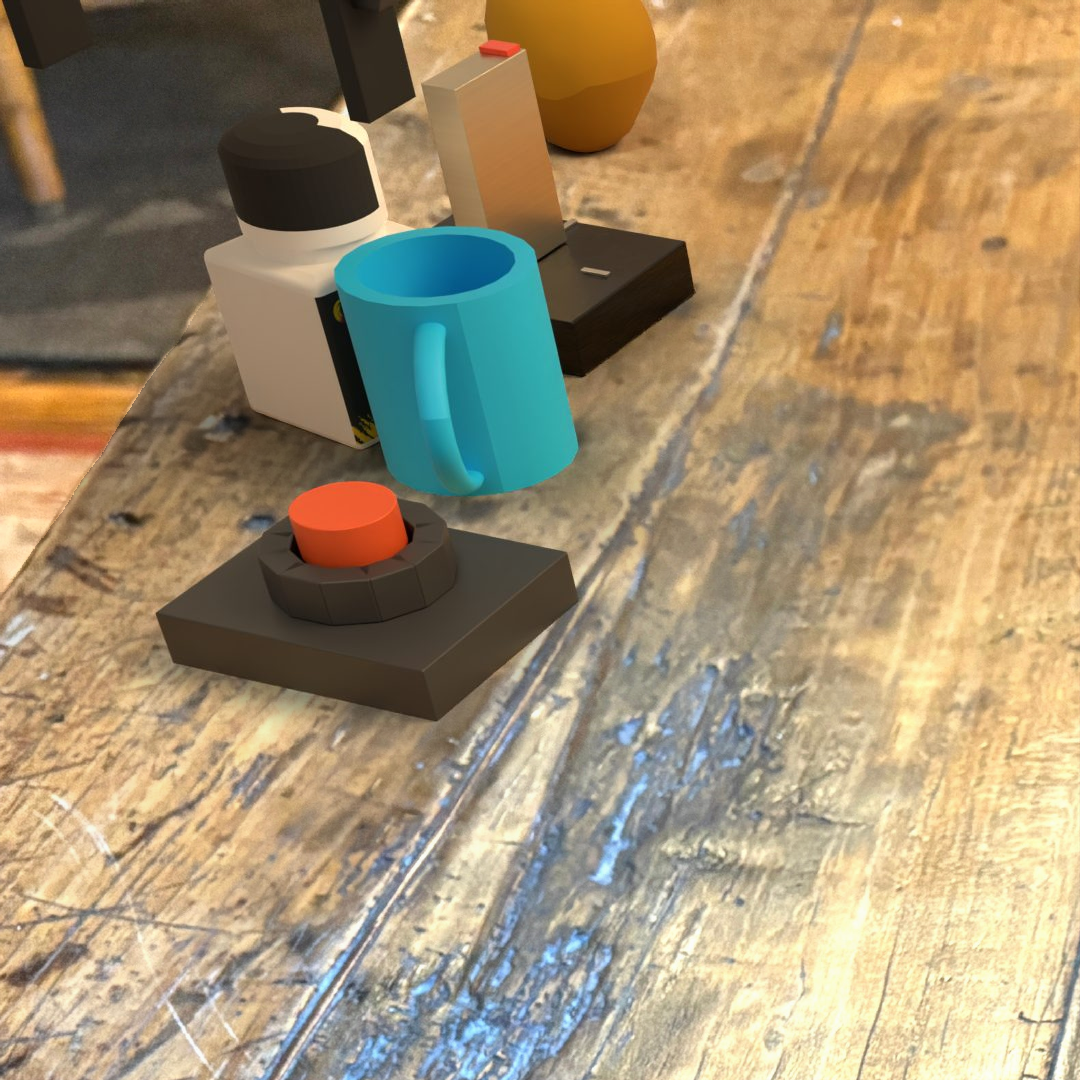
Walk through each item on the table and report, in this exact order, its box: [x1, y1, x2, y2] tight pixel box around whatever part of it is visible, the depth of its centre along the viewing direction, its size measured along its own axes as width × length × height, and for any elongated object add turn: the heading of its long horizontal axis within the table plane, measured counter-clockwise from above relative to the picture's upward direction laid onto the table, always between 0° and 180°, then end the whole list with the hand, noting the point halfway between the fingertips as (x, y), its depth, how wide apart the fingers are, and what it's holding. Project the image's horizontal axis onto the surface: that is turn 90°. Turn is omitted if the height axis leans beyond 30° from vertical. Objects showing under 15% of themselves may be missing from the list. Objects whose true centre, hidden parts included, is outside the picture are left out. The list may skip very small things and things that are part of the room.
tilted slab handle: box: [420, 40, 567, 260], centre depth 121 cm, size 6×2×9 cm, turn 160°
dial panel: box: [431, 213, 696, 377], centre depth 125 cm, size 12×10×3 cm
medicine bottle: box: [203, 106, 415, 451], centre depth 115 cm, size 7×7×12 cm
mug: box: [334, 226, 580, 498], centre depth 112 cm, size 12×8×8 cm
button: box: [287, 480, 408, 568], centre depth 102 cm, size 4×4×2 cm
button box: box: [155, 497, 579, 722], centre depth 104 cm, size 12×10×4 cm
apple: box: [484, 0, 658, 153], centre depth 138 cm, size 8×8×9 cm
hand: (219, 83), depth 91 cm, fingers open, 12 cm apart
